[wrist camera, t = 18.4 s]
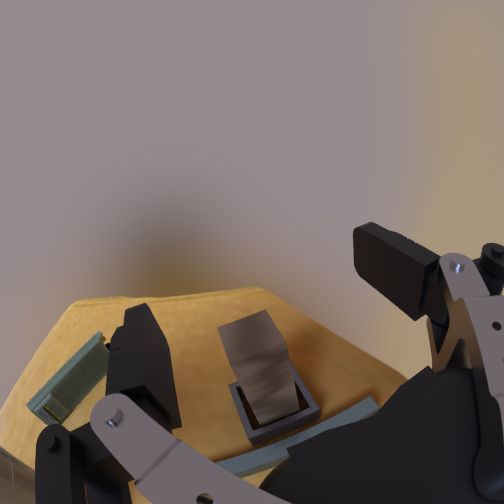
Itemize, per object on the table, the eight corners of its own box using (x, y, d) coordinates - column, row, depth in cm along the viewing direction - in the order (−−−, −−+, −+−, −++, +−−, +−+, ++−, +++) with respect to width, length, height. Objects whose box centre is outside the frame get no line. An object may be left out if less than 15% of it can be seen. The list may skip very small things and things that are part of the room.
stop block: (262, 429, 28) (230, 363, 21) (249, 399, 32) (217, 327, 26) (300, 413, 29) (285, 342, 22) (285, 385, 33) (265, 309, 27)
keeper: (199, 488, 21) (190, 484, 20) (181, 410, 32) (173, 401, 31) (376, 416, 25) (379, 407, 24) (328, 354, 36) (327, 342, 35)
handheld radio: (48, 423, 30) (128, 338, 48) (56, 433, 28) (138, 343, 47) (24, 401, 27) (113, 313, 45) (30, 412, 25) (123, 318, 43)
